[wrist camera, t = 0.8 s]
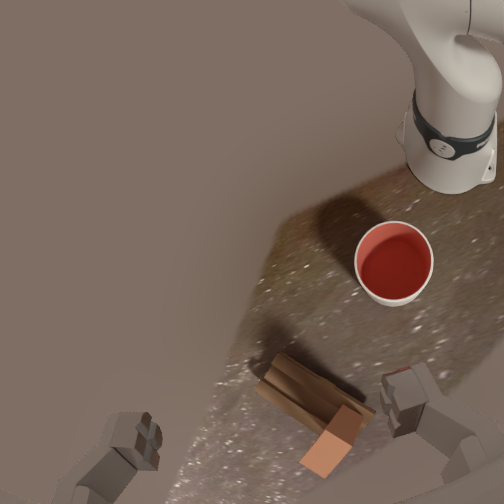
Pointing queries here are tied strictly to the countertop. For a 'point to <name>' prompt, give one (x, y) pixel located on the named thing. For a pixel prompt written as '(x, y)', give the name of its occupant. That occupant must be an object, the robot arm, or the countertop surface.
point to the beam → (307, 395)
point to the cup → (393, 262)
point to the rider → (333, 442)
